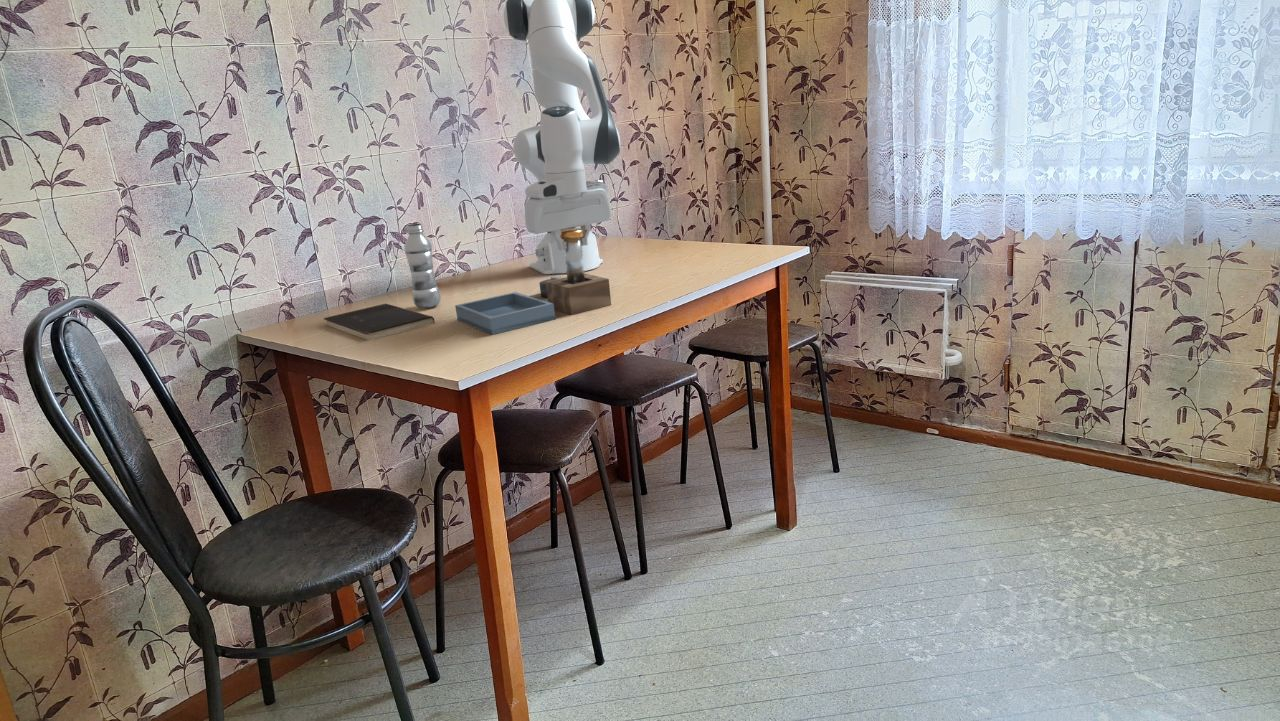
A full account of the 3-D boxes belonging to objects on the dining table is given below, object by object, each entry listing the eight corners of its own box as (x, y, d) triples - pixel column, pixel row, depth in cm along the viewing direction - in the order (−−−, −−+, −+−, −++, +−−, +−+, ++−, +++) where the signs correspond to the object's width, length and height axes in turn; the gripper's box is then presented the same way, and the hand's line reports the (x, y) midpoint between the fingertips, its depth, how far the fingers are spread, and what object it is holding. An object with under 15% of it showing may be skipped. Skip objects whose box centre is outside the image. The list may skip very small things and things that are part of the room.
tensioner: (530, 301, 197) (527, 277, 196) (567, 293, 203) (565, 268, 201) (571, 314, 182) (568, 288, 180) (611, 304, 187) (608, 278, 186)
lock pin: (561, 283, 188) (555, 231, 184) (580, 279, 191) (575, 227, 187) (572, 287, 184) (566, 233, 180) (592, 282, 187) (587, 229, 183)
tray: (457, 320, 186) (455, 305, 185) (517, 306, 194) (515, 292, 193) (492, 334, 172) (489, 318, 171) (555, 319, 179) (553, 303, 178)
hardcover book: (367, 343, 176) (365, 333, 175) (325, 327, 193) (323, 318, 192) (435, 325, 186) (433, 315, 185) (389, 311, 203) (388, 302, 202)
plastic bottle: (447, 303, 203) (434, 221, 197) (432, 310, 197) (418, 226, 191) (424, 303, 205) (410, 222, 199) (409, 310, 199) (394, 227, 193)
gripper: (598, 177, 189) (604, 238, 193) (518, 190, 178) (526, 253, 182) (613, 179, 184) (619, 241, 188) (532, 191, 173) (539, 257, 177)
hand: (572, 247), depth 185 cm, fingers closed on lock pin, 4 cm apart
